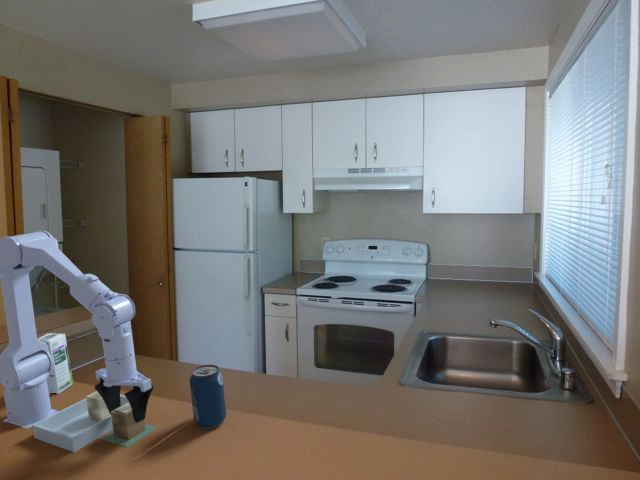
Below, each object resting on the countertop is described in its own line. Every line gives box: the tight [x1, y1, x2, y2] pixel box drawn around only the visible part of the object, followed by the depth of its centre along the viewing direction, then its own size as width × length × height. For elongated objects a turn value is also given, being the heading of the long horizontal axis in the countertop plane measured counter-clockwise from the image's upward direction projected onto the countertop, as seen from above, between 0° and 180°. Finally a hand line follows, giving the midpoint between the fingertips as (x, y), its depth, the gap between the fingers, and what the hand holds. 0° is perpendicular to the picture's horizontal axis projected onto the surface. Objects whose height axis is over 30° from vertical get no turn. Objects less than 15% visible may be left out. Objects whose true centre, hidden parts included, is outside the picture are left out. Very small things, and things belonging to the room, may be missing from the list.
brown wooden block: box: [111, 402, 146, 441], centre depth 103 cm, size 4×4×6 cm
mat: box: [100, 423, 159, 448], centre depth 103 cm, size 8×8×1 cm
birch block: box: [85, 390, 110, 422], centre depth 110 cm, size 4×4×6 cm
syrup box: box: [37, 332, 74, 395], centre depth 127 cm, size 6×6×14 cm
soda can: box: [189, 364, 227, 430], centre depth 106 cm, size 7×7×12 cm
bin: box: [32, 393, 129, 453], centre depth 108 cm, size 13×17×4 cm
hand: (127, 416), depth 103 cm, fingers open, 7 cm apart
